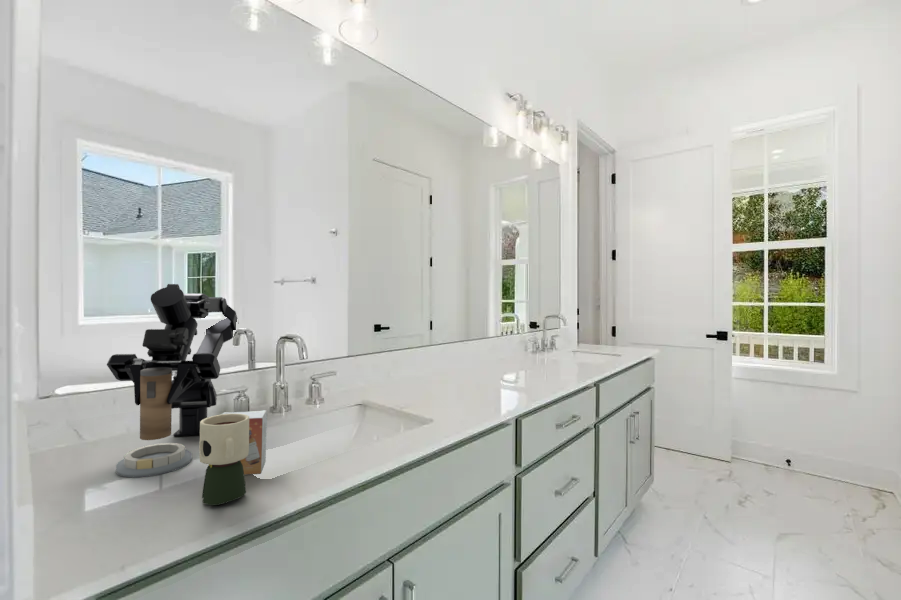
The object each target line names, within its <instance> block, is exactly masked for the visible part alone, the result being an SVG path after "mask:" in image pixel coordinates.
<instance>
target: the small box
mask: <svg viewBox="0 0 901 600" xmlns="http://www.w3.org/2000/svg"><path fill="white" fill-rule="evenodd" d="M222 414H245V415H248V416H249V453H248V456H247V457H246V458H244V459H242V460H240V461H241V463H242V465H243V470H244V476H247V475H249V476H250V475H261V474H262V473H263V469H264V468H265V464H266V462H267V460H266V458H267V457H266V456H267V423H268V422H267V419H268V418H267V416H268V410H266V409H265V410H264V409H263V410H254V411H236V412H235V411H233V412H232V411H231V412H228V411H226V412H225V411H224V412H222V413H221V414H220V415H222Z"/></svg>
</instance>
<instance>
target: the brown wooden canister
mask: <svg viewBox="0 0 901 600" xmlns="http://www.w3.org/2000/svg"><path fill="white" fill-rule="evenodd" d="M172 380H173V371H172V368H169V367H156V368H147V369H142V370H140V405H139V439H140V440H141V441H155V440H161V439H165V438H168V437H170V436H171V435H172V412H173V411H172V403H171V404H168V403H167V399H168V395H169V393H170V390H171V388H172Z"/></svg>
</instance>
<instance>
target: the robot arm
mask: <svg viewBox="0 0 901 600" xmlns="http://www.w3.org/2000/svg"><path fill="white" fill-rule="evenodd" d="M150 302H151V304H152V306H153V309H154V311H155V313H156V315H157V318H158V319H159V321H160V323H162V324H165V327H164V329H161V328H151V329H147V328H146V329H145V332H144V337H143V341H142V347H144V348H146V349H147V355H148V357H149V358H151V360H150V359H149V360H148V359H147V360H145V359H144V358H140V357H138V356H137V355H136V353H120V354H119V353H116V354H112V355H111V356H110V357H109V359H108V361H107V363H106V366H107V368H108V369H109V371H110V372H111V374H112V375H113V377H114V378H115V380H116V381H117V380H118V381H120V382H130V381H131V382H132V383H133V389H134V391H133V392H134V404H135V405H136V406H140V370H142V369H147V368H156V367H169V368H172V372H176V373H175V374H174V376H172V388H171V390H170V393H169V395H168V399H167V403H168V404H171V403H172V409H179V416H178V417H179V421H178V422H179V425H178V426H179V428H178V429H177V430H176V431H175V432H174V433H173V435H172V436H173V437H184V436H200V421H201V420H203V419H205V418H208V408H211V407H213V406H217V400H218V398H217V394H218V393H217V391H216V389H215V386H214V384H213V382H212V380H216V379H218V378H219V376H220V372H221V366H220V363H219V361H218V356H219V354H220V352H221V349H222V347H223V346H224V343H226V342H228V341H230V340H232V339H233V338H234V336H233V330H236V322H237V319H238V316H237V312H236V310H234V309H233V308H232V307H231V306H230V305H228V303H227V299H226V298H225V297H224V298H223V297H221V296H219V297H218V296H217V297H215V296H212V297H211V296H209V295H207V294H205V293H194V292H193V293H192V292H191V293H190V292H189V293H188V292H187V293H185V292H183V290H182V289H181V288H180V285H179V284H178V283H167V285H166V286H165V287H163V288H160V289H157V290H156V291H154V293H151V295H150ZM209 313H222V314H221V315H224V316H225V317H227V318H226V319H224V320H221V321H219V322H218V323H216V324H215V325H213V326H211V327H210V328H208V329H206V335H205V334H204V337H203V340H202V341H201V343H200V346H199V347H198V349H197V351H196V353H194V354H192V348H191V345H192V343H193V341H194V340H193V339H194V337H195V336H198V329H197V327H198V321H197V320H196V319H201V318H205V317H206V316H208V315H209ZM191 354H192V358H191V359H192V360H187V357H188V355H191Z"/></svg>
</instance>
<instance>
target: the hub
mask: <svg viewBox="0 0 901 600" xmlns="http://www.w3.org/2000/svg"><path fill="white" fill-rule="evenodd" d="M192 455H193V453H192V452H191V451H190V450H189V449H186V446H185V445H184V444H183V443H176V442H163V443H160V442H159V443H155V444H154V443H153V444H149V445H143V446H140V447H138V448H135V449H132V450H129V451H128V452H127V453H125V454H124V455H123V459H121V460H119V461H118V462H117V463H116V464H115V473H116V474H117V475H118V476H120V477H124V478H146V477H147V478H148V477H153V476H159V475H164V474H167V473H171V472H175V471H177V470H179V469H181V468H183V467H186V466H187V465H189V464H190V463H191V462H192V458H193V457H192Z"/></svg>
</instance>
